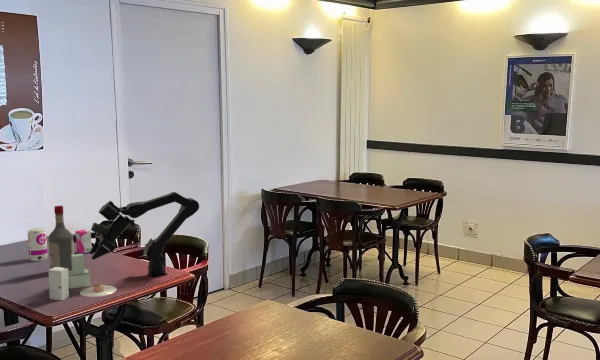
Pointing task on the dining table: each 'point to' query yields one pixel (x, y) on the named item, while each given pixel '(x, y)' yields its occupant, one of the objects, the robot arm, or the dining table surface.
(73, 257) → the cover
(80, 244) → the supplement box
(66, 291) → the skincare box
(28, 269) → the dining table surface
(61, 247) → the liquor
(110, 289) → the plate
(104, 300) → the dining table surface
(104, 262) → the dining table surface
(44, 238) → the supplement can
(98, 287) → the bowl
